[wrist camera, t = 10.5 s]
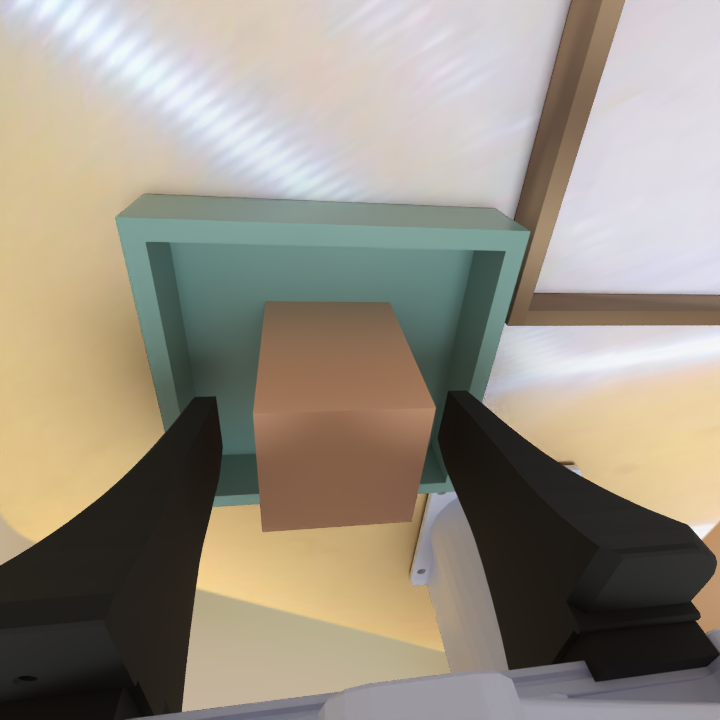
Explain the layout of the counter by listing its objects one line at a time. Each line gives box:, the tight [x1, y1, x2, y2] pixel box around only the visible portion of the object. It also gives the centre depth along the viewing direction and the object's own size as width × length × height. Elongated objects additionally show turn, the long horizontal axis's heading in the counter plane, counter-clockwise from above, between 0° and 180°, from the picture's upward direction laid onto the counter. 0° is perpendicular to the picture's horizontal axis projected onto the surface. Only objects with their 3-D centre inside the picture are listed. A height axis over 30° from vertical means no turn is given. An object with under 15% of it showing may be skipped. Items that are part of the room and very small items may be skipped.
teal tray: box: [115, 194, 531, 507], centre depth 16 cm, size 11×11×3 cm
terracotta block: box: [253, 301, 436, 532], centre depth 14 cm, size 4×4×6 cm
